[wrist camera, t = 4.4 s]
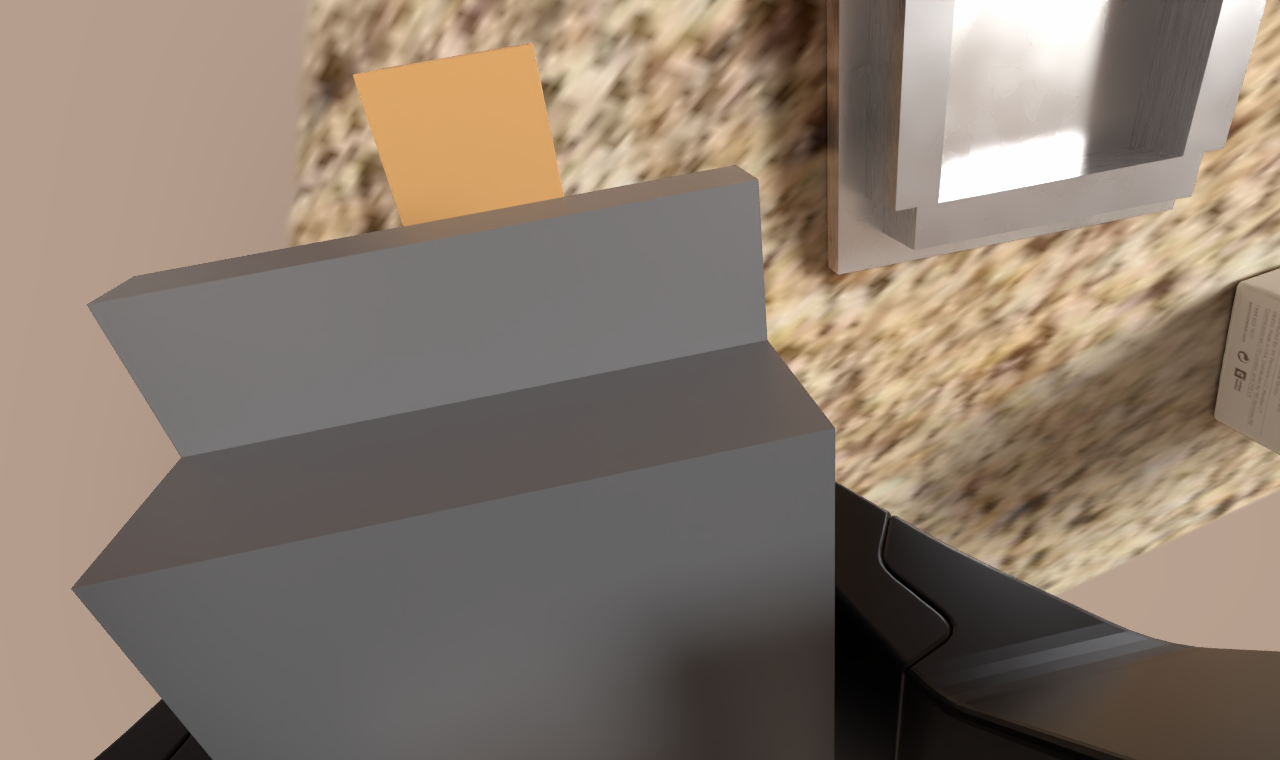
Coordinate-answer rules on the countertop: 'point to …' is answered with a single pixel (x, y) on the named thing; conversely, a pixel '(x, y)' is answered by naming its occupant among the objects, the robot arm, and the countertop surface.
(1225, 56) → the tray
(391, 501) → the block
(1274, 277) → the small box
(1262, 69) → the countertop surface
